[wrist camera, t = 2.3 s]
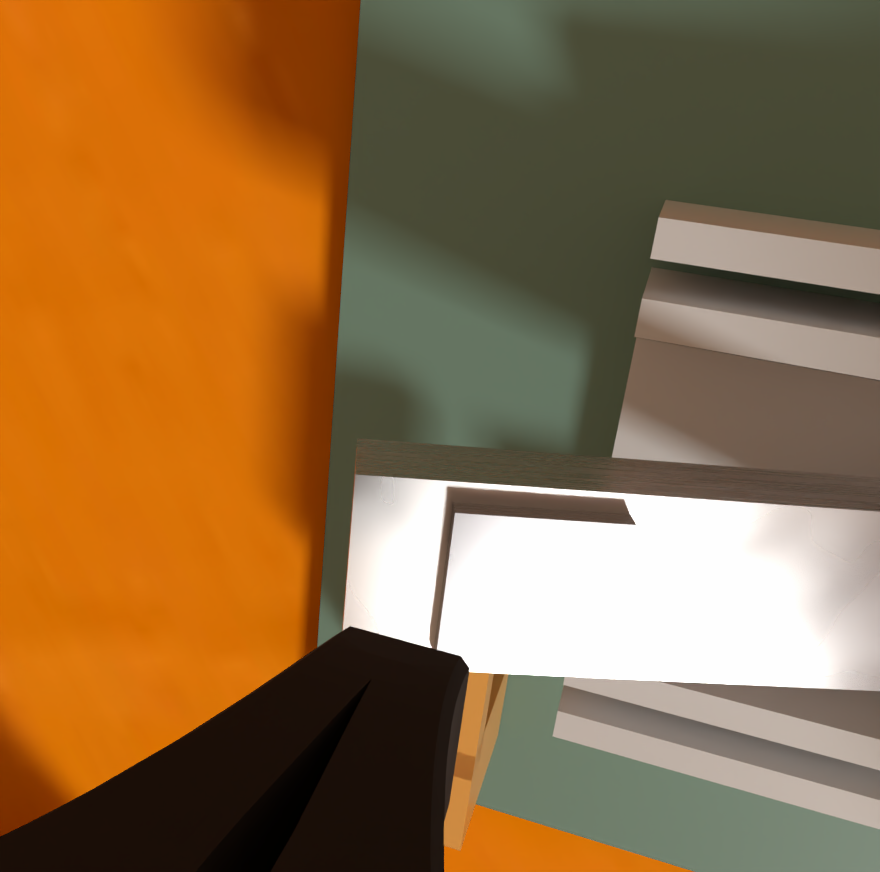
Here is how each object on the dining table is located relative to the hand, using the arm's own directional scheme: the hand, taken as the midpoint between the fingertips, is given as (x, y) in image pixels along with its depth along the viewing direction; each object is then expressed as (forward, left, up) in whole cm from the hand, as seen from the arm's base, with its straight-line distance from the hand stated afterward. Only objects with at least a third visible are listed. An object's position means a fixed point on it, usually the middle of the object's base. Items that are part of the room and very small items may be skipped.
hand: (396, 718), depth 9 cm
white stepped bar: (-4, 0, -6) cm, 7 cm away
